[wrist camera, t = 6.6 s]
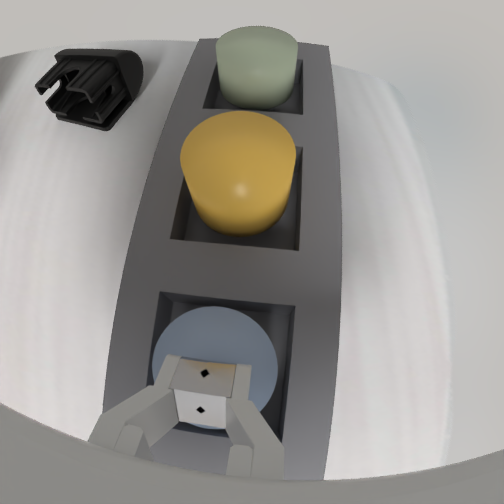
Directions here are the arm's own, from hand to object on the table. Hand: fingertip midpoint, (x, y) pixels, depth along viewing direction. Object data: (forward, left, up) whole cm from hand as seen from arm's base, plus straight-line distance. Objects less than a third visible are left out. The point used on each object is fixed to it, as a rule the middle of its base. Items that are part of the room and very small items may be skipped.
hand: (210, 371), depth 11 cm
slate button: (0, 0, -4) cm, 4 cm away
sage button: (0, +17, -2) cm, 17 cm away
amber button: (0, +9, -2) cm, 9 cm away
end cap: (-18, +24, -10) cm, 32 cm away
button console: (0, +9, -10) cm, 13 cm away
